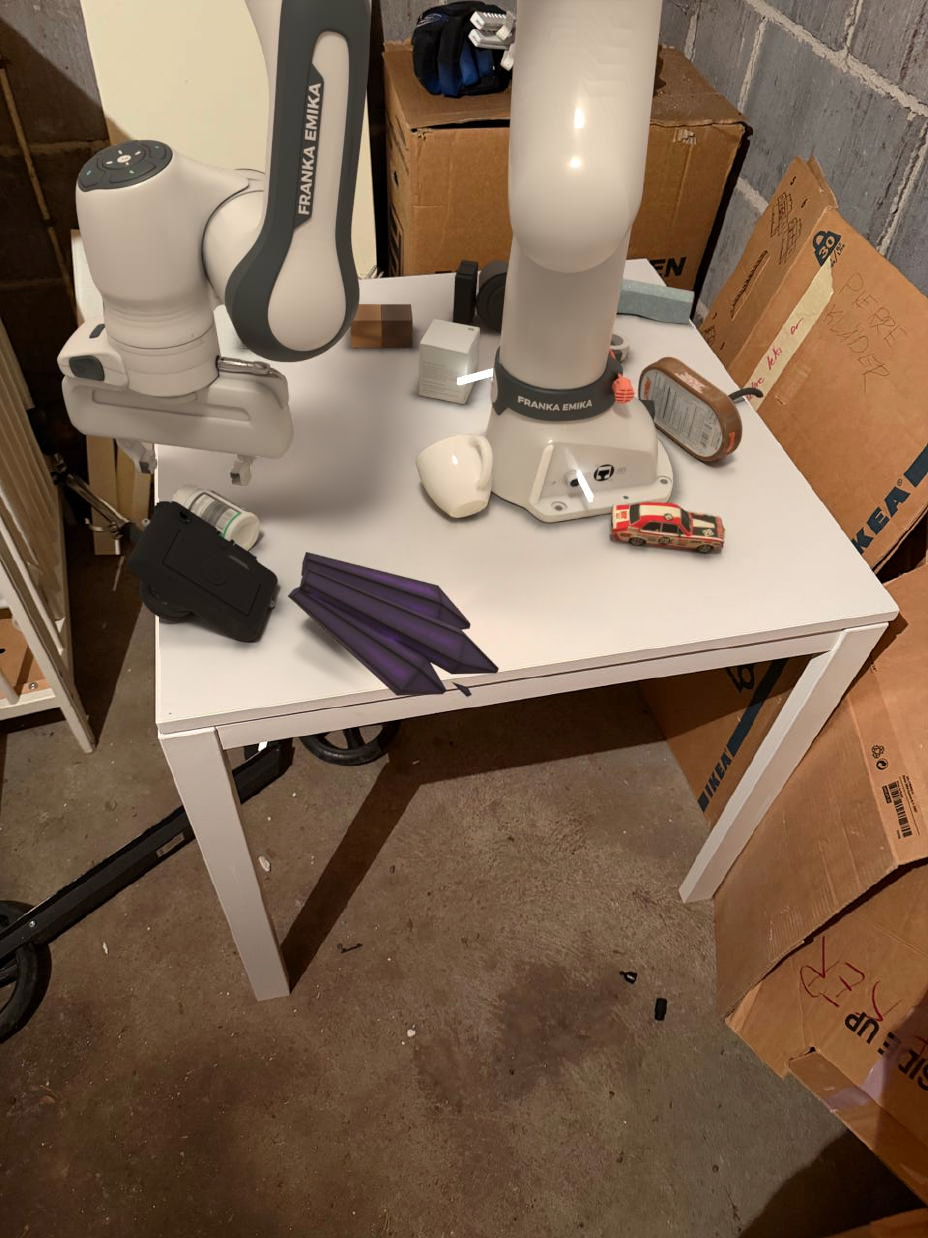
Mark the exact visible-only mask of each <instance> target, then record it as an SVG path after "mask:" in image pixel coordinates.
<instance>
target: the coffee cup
mask: <svg viewBox="0 0 928 1238" xmlns="http://www.w3.org/2000/svg"><path fill="white" fill-rule="evenodd" d="M508 266H509V261H505V260H502V259H495V260H490V261H489V262H487V263H486V264H485V265H484V266H483V267H482V268H481V270H480V272H479V273H478V279H477V294H476V304H475V306H476V309H475V312H476V315H477V317H478V318H479V320H480V322H481V323H482V324H483V325H484V326H485V327H486V328H488V329H490V330H492V331H494V332H496V333H501V331H502V319H503V308H504V298H505V287H506V278H507V272H508Z"/></svg>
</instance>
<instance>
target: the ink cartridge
mask: <svg viewBox="0 0 928 1238" xmlns="http://www.w3.org/2000/svg"><path fill="white" fill-rule="evenodd" d="M478 280H479V261H474V260H469V259H468V260H467V259H461V261H460V263H459V265H458V268H457V270H456V272H455V275H454V286H453V288H454V289H453V308H452V309H453V311H452V323H458V324H463V325H468V326H473V322H474V319H475V316H476V306H475V304H476V296H477V294H478Z"/></svg>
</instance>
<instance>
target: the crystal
mask: <svg viewBox="0 0 928 1238" xmlns="http://www.w3.org/2000/svg"><path fill="white" fill-rule="evenodd" d="M301 563H302V564H301V575H300V576H302V577H301V578H300V584H299V586H297V587H295V588H293V589H292V590H291V592H289V594H288V595H287V597H288V598H289V599H290V600H291V601H292V602H293V603H294V604H295V605H297V607H299V609H301V610H302V611H303V612H305V614H307V615H308V617H310V618H311V619H312V620H313V621H314V622H315V623H317V624H318V626H320V627H321V628H322V629H323V630H324V631H325V632H326V633H327V634H328V635H329V636H330V637H331V638H333V640H335V641H336V642H337V643H338V644H340V646H341V647H342V648H344V649H345V650H346V651H347V652H348V653H349V654H351V656H352V657H353V658H355V659H356V660H357V661H358V662H359V663H360V664H361V665H362V666H363V667H365V668H366V669H367V670H368V671H369V672H370V673H371V674H372V675H373V676H375V678H377V679H378V680H379V681H380V682H381V683H382V684H383V685H384V686H386V688H387V689H388V690H390V691H391V692H392V693H393V694H394V695H395V696H396V697H401V696H402V697H403V696H405V697H406V696H433V695H434V696H436V695H437V696H439V695H444V694H445V693H446V692H447V687H445V684H444V683H443V681H442V679H441V678H440V676H439V675H438V673H437V671H436V669H435V667H434V666H436V667H438V668H439V669H441V670H443V671H444V672H446V673H448V674H450V675H484V674H485V675H488V674H489V675H490V674H492V675H493V674H497V673H498V672H499V670H500V669H499V666H497V664H495V663H494V661H493V660H492V659H490V657H489V656H488V655H487V654H486V653H485V652H484V651H483V650H482V649H481V648H480V647H479V646H478V645H477V644H476V643H475V642H474V641H473V640H472V639H471V638H470V637H469V636H468V635H467V634H466V633H465V632H464V631H465V630H470V629H471V622H470V621H469V619H468V618H467V617H466V616H465V615H464V614H463V613H462V612H461V610H460V609H459V608H458V607H457V606H456V605H455V603H454V602H453V601H452V600H451V598H450V597H449V596H448V595H447V594H446V593H445V592H444V591H443V589H442V588H441V587H440V586H439V585H438V584H434V583H430V582H427V581H422V580H418V579H415V578H412V577H407V576H402V575H398V574H395V573H391V572H387V571H383V570H380V569H375V568H371V567H367V566H363V565H360V564H357V563H356V564H355V563H351V562H348V561H344V560H339V559H335V558H332V557H327V556H325V555H320V554H316V553H312V552H309V551H305V554H304V557H303V559H302V562H301ZM463 630H464V631H463ZM451 683H452V684H453V685H454V686H455V687H456V688H457V689H458V690H459V691H460V693H462V694H463V695H464V696H465V697H466V698H469V697H471V696H472V695H473V694H472V692H471V690H470V689H469V687H468V686H466V685H463V684H460V683H457V682H453V681H451Z"/></svg>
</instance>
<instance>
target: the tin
mask: <svg viewBox="0 0 928 1238" xmlns="http://www.w3.org/2000/svg"><path fill="white" fill-rule="evenodd" d="M639 375H640V376H639V379H638V385H637V386H638V387H637V388H638V389H637V399H641V400H653V401H654V405H655V413H656V414H655V418H654V422H653V423H654V425H655V428H657V429H658V430H660V431H661V432H663V433H664V434H665V435H666V436H668V437H669V438H670V439H672V440H673V442H675V443H677V444H678V445H679V446H680V447H681V448H683V449H685V451H687V452H688V453H689V454H690V455H692V456H693V457H694V458H696V459H698V460H699V461H700V460H701V461H703V462H713V461H716V460H720V459H721V458H723V457H726V456H729V455H731V454H733V453H734V452H735V451H736V450H737V449H738V448H739V446H740V444H741V442H742V437H743V423H742V419H741V418H742V417H741V414H740V412H739V409H738V407H737V406H736V404H735V402H734V400H733V401H732V400H731V399H730V397H729V396H728V395H729V394H727V393H726V392H725V391H723V390H722V389H720V388H719V387H718V386H716V385H715V384H713V383H712V382H711V381H709V380H708V379H706V378H705V377H703V376H702V375H701V374H700V373H698V372H696V370H694V369H693V368H691V367H690V366H688V365H687V364H686V363H684V362H683V361H682V360H680V359H678V358H676V357H674V356H673V357H672V356H665V357H661V358H659V359H658V360H657V361H655V362H652V363H650V364H648V365H647V366H646V367H644V369H642V371H641V372H640V374H639Z"/></svg>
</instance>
